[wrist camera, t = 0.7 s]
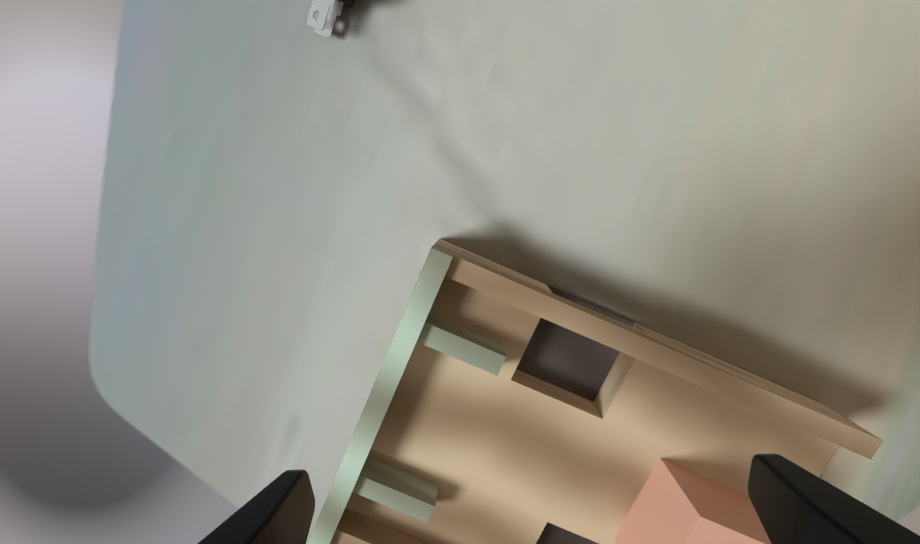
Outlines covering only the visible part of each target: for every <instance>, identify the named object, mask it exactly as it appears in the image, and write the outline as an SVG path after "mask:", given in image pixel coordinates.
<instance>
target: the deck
mask: <svg viewBox="0 0 920 544" xmlns="http://www.w3.org/2000/svg"><path fill="white" fill-rule="evenodd" d="M882 442H883V440H881V439H880V438H878V437H876V436H875V435H873V434H871V433H870V432H868V431H866V430H865V429H863V428H862V427H860V426H858V425H857V424H855V423H853V422H852V421H850V420H848V419H847V418H845V417H843V416H842V415H840V414H838V413H837V412H835V411H833V410H832V409H830V408H829V407H827V406H825V405H824V404H822V403H820V402H817V401H815V400H813V399H810V398H808V397H806V396H803V395H801V394H799V393H796V392H794V391H792V390H789V389H787V388H785V387H782V386H780V385H778V384H776V383H773V382H771V381H769V380H766V379H764V378H762V377H759V376H757V375H755V374H752V373H750V372H748V371H745V370H743V369H741V368H738V367H736V366H734V365H732V364H729V363H727V362H725V361H722V360H720V359H718V358H715V357H713V356H711V355H708V354H706V353H704V352H701V351H699V350H697V349H694V348H692V347H690V346H688V345H685V344H683V343H681V342H678V341H676V340H674V339H671V338H669V337H667V336H664V335H662V334H660V333H657V332H655V331H653V330H650V329H648V328H646V327H644V326H641V325H639V324H637V323H634V322H632V321H630V320H627V319H625V318H623V317H620V316H618V315H616V314H613V313H611V312H609V311H606V310H604V309H602V308H600V307H597V306H595V305H593V304H590V303H588V302H586V301H583V300H581V299H579V298H576V297H574V296H572V295H569V294H567V293H565V292H562V291H560V290H558V289H556V288H553V287H551V286H549V285H546V284H544V283H542V282H539V281H537V280H535V279H532V278H530V277H528V276H525V275H523V274H521V273H519V272H516V271H514V270H512V269H509V268H507V267H505V266H502V265H500V264H498V263H495V262H493V261H491V260H488V259H486V258H484V257H481V256H479V255H477V254H475V253H472V252H470V251H468V250H465V249H463V248H461V247H458V246H456V245H454V244H451V243H449V242H447V241H444V240H442V239H439V240H438V241H437V242H436V243H435V244H434V245H433V246H432V247H431V249H430V252H429V254H428V257H427V259H426V261H425V264H424V266H423V269H422V271H421V273H420V276H419V278H418V280H417V283H416V285H415V288H414V290H413V292H412V295H411V297H410V300H409V302H408V304H407V307H406V309H405V312H404V314H403V316H402V319H401V321H400V324H399V326H398V328H397V331H396V333H395V335H394V338H393V340H392V343H391V345H390V347H389V350H388V352H387V355H386V357H385V359H384V362H383V364H382V367H381V369H380V371H379V374H378V376H377V379H376V381H375V383H374V386H373V388H372V391H371V393H370V395H369V398H368V400H367V402H366V405H365V407H364V410H363V412H362V414H361V417H360V419H359V422H358V424H357V426H356V429H355V431H354V434H353V436H352V438H351V441H350V443H349V446H348V448H347V450H346V453H345V455H344V457H343V460H342V462H341V465H340V467H339V469H338V472H337V474H336V477H335V479H334V481H333V484H332V486H331V489H330V491H329V493H328V496H327V498H326V501H325V503H324V505H323V508H322V510H321V512H320V515H319V517H318V520H317V522H316V524H315V527H314V529H313V532H312V534H311V536H310V539H309V541H308V544H617V542H616V540H615V535H616V533H617V531H618V530H619V528H620V526H621V524H622V523H623V521H624V519H625V517H626V516H627V514H628V512H629V511H630V509H631V507H632V505H633V504H634V502H635V500H636V498H637V497H638V495H639V493H640V492H641V490H642V488H643V486H644V485H645V483H646V481H647V479H648V478H649V476H650V474H651V472H652V471H653V469H654V467H655V466H656V464H657V462H658V460H659V459H660V458H662V459H664V460H666V461H669V462H671V463H673V464H676V465H678V466H680V467H683V468H685V469H688V470H690V471H692V472H695V473H697V474H699V475H702V476H704V477H706V478H709V479H711V480H714V481H716V482H718V483H721V484H723V485H725V486H728V487H730V488H732V489H735V490H737V491H740V492H742V493H744V494H747V495H748V488H747V487H748V479H749V473H750V467H751V461H752V458H753V456H754V455H756V454H772V453H774V454H779V455H781V456H783V457H785V458H786V459H788V460H790V461H792V462H793V463H795V464H797V465H799V466H800V467H802V468H804V469H805V470H807V471H809V472H811V473H812V474H814V475H816V476H817V477H820V475H821V474H822V472H823V471H824V469H825V468H826V466H827V465H828V463H829V461H830V460H831V458H832V457H833V455H834V454H835V452H836V451H837V449H838V448H839V446H841V447H844V448H846V449H848V450H851V451H853V452H855V453H858V454H860V455H862V456H865V457H867V458H869V459H871V458H872V457H873V456H874V454H875V453H876V451H877V450H878V448H879V447H880V445H881V444H882Z"/></svg>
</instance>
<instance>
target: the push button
mask: <svg viewBox="0 0 920 544" xmlns="http://www.w3.org/2000/svg"><path fill="white" fill-rule="evenodd" d="M353 2H354V0H313V1H312V5H311V8H310V12H309V15H308V19H307V24H308V26H311V27H314V28H315V29H314V30H315V33H317V34H320V35H322V36H325V37H328V38H329V37H331V34H332V30H333V27H334V23H335V20H336V16H337V15H339V16H340V14H341V11H342V7H343V5H346V6H348V7H351V6H352V5H353ZM316 12H319V15H318V19H317V21H316V20H315V19H314V14H315V13H316ZM326 20H327V21H328V22H329V26H328V28H326V29H324V26H325V23H326Z"/></svg>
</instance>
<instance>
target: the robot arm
mask: <svg viewBox="0 0 920 544" xmlns="http://www.w3.org/2000/svg"><path fill="white" fill-rule="evenodd" d="M747 488H748V495H749V498H750V500H751V503H752V505H753V507H754V509H755V511H756V513H757V515H758V517H759V519H760V521H761V523H762V525H763V527H764V529H765V531H766V534H767V536H768V538H769V540H770V542H771V544H920V536H919V535H917V534H915V533H914V532H912V531H910V530H909V529H907V528H905V527H903V526H902V525H900V524H898V523H897V522H895V521H893V520H891V519H890V518H888V517H886V516H885V515H883V514H881V513H879V512H878V511H876V510H874V509H872V508H871V507H869V506H867V505H866V504H864V503H862V502H860V501H859V500H857V499H855V498H854V497H852V496H850V495H848V494H847V493H845V492H843V491H842V490H840V489H838V488H836V487H835V486H833V485H831V484H829V483H828V482H826V481H824V480H823V479H821V478H819V477H817V476H816V475H814V474H812V473H811V472H809V471H807V470H805V469H804V468H802V467H800V466H799V465H797V464H795V463H793V462H792V461H790V460H788V459H786V458H785V457H783V456H781V455H779V454H774V453H772V454H756V455H754V456H753V458H752V461H751V467H750V473H749V479H748V487H747ZM314 509H315V498H314V494H313V490H312V486H311V483H310V479H309V475H308V473H307V471H305V470H287V471H285V472H284V473H282V474H281V475H280V476H279V477H277V478H276V479H275V480H274V481H273V482H271V483H270V484H269V485H268V486H267V487H265V488H264V489H263V490H262V491H260V492H259V493H258V494H257V495H256V496H254V497H253V498H252V499H251V500H250V501H248V502H247V503H246V504H245V505H244V506H242V507H241V508H240V509H239V510H238V511H236V512H235V513H234V514H233V515H232V516H230V517H229V518H228V519H227V520H225V521H224V522H223V523H222V524H221V525H219V526H218V527H217V528H216V529H215V530H214V531H212V532H211V533H210V534H209V535H207V536H206V537H205V538H204V539H203V540H201V541H200V542H199V543H198V544H306V540H307V536H308V533H309V529H310V525H311V521H312V518H313V514H314Z"/></svg>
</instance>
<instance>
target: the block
mask: <svg viewBox="0 0 920 544" xmlns="http://www.w3.org/2000/svg"><path fill="white" fill-rule="evenodd" d="M615 540H616V542H617V544H771V542H770V540H769V538H768V536H767V534H766V531H765V529H764V527H763V525H762V523H761V521H760V519H759V517H758V515H757V513H756V511H755V509H754V507H753V505H752V503H751V500H750V498H749V495H747V494H744V493H742V492H740V491H737V490H735V489H732V488H730V487H728V486H725V485H723V484H721V483H718V482H716V481H714V480H711V479H709V478H706V477H704V476H702V475H699V474H697V473H695V472H692V471H690V470H688V469H685V468H683V467H680V466H678V465H676V464H673V463H671V462H669V461H666V460H664V459H662V458H660V459H659V460H658V462H657V464H656V466H655V467H654V469H653V471H652V472H651V474H650V476H649V478H648V479H647V481H646V483H645V485H644V486H643V488H642V490H641V492H640V493H639V495H638V497H637V498H636V500H635V502H634V504H633V505H632V507H631V509H630V511H629V512H628V514H627V516H626V517H625V519H624V521H623V523H622V524H621V526H620V528H619V530H618V531H617V533H616V535H615Z"/></svg>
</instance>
